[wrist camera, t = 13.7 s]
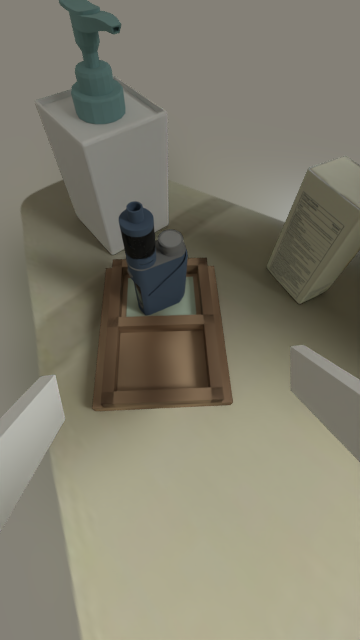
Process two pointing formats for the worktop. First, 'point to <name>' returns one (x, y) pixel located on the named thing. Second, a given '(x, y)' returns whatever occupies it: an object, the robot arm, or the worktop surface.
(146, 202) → the soap bottle
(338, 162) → the skincare box
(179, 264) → the vaping device
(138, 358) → the divided wooden tray
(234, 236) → the worktop surface
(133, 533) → the worktop surface
